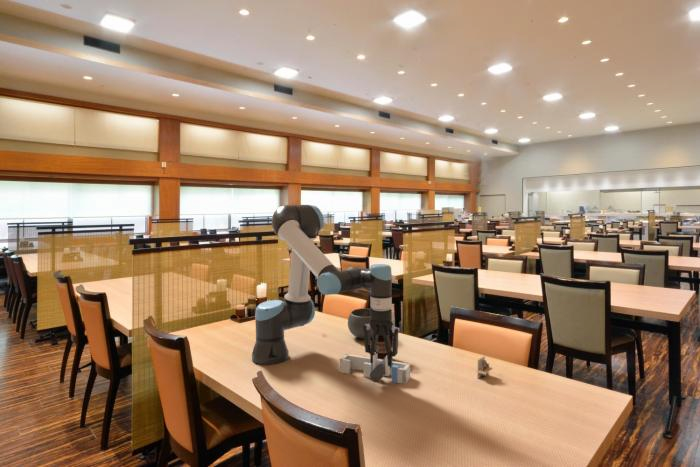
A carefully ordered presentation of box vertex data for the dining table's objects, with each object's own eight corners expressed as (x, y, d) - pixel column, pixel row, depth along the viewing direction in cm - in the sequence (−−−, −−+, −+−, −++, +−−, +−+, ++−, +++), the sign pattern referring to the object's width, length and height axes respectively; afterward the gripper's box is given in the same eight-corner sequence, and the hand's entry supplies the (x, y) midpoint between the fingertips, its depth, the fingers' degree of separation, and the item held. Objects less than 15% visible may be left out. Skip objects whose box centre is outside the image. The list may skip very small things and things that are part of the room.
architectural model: (492, 377, 148) (493, 358, 148) (485, 383, 143) (485, 363, 142) (483, 374, 150) (484, 355, 150) (475, 380, 145) (476, 360, 145)
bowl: (390, 335, 196) (391, 310, 196) (373, 346, 181) (373, 318, 180) (360, 329, 206) (360, 305, 205) (340, 339, 191) (340, 313, 190)
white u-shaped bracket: (339, 372, 152) (339, 358, 152) (346, 366, 158) (346, 352, 158) (405, 384, 141) (405, 368, 141) (410, 377, 147) (410, 362, 147)
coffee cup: (392, 363, 160) (392, 331, 160) (372, 362, 162) (372, 330, 161) (394, 355, 169) (394, 325, 168) (375, 354, 171) (375, 324, 170)
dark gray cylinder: (381, 382, 135) (380, 371, 135) (370, 381, 137) (369, 369, 137) (392, 369, 146) (391, 359, 146) (381, 368, 148) (381, 357, 148)
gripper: (354, 308, 140) (355, 373, 141) (401, 313, 133) (401, 381, 135) (362, 304, 147) (363, 366, 148) (407, 308, 140) (407, 373, 141)
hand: (381, 373), depth 141 cm, fingers closed on dark gray cylinder, 4 cm apart
